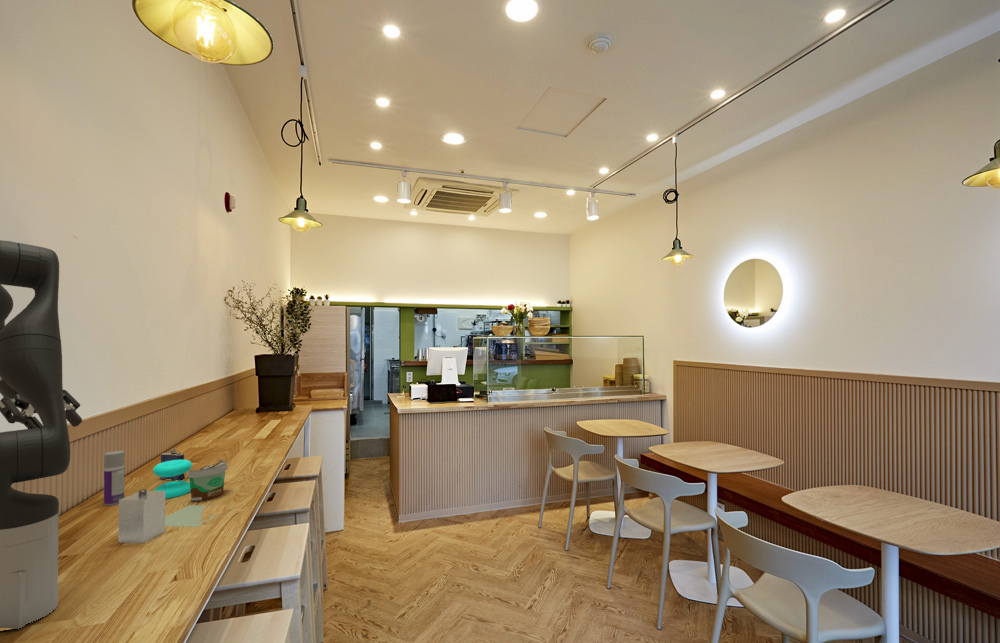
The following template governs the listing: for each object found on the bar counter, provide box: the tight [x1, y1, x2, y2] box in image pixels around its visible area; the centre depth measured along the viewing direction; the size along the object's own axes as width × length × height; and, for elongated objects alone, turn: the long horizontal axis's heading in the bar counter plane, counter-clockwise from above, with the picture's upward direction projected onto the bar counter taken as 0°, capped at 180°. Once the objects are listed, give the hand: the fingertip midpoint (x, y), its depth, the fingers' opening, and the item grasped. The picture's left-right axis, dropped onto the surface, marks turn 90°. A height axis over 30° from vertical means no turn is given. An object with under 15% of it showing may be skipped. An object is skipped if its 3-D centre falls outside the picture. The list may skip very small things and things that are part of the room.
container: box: [103, 450, 125, 507], centre depth 137 cm, size 5×5×15 cm
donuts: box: [152, 459, 193, 500], centre depth 144 cm, size 10×10×10 cm
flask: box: [159, 447, 185, 481], centre depth 159 cm, size 9×3×11 cm, turn 76°
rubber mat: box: [165, 504, 235, 528], centre depth 126 cm, size 14×14×1 cm
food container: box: [187, 459, 229, 503], centre depth 140 cm, size 12×6×10 cm, turn 168°
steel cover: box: [118, 489, 166, 544], centre depth 113 cm, size 6×6×12 cm
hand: (60, 427), depth 107 cm, fingers open, 8 cm apart
